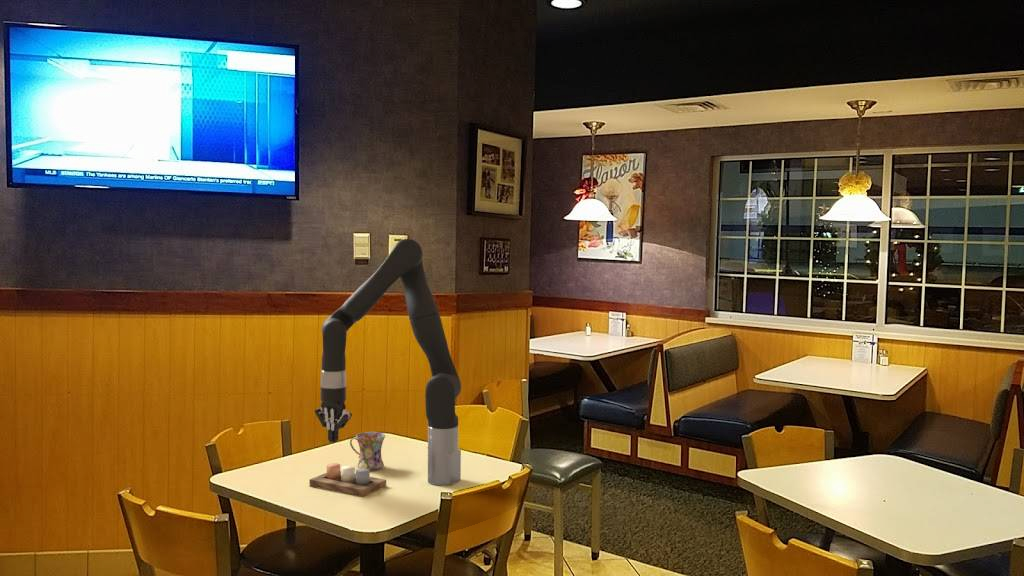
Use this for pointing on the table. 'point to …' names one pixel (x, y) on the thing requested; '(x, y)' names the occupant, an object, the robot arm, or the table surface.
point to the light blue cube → (362, 477)
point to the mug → (369, 450)
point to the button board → (347, 485)
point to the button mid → (347, 474)
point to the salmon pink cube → (333, 471)
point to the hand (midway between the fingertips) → (332, 441)
